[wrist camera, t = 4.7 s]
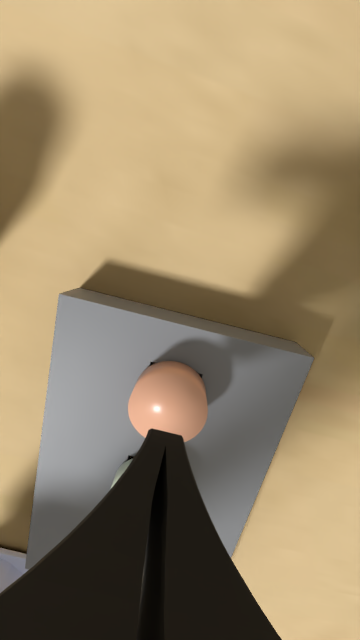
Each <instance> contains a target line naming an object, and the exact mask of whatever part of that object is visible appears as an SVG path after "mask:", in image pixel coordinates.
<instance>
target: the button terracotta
mask: <svg viewBox="0 0 360 640" xmlns="http://www.w3.org/2000/svg"><path fill="white" fill-rule="evenodd" d="M128 414H129V418H130V421H131V423H132V425H133V426H134V428H135V429H136V430H137V431H138V432H139V433H140V434H141V435H142V436H143V437H145V438H146V436H147V433H148V430H149V429H151V428H153V429H157V430H161V431H165V432H169V433H173V434H178V435H182V437H183V439H184V442H186V441H189V440H190V439H192V438H194V437H195V436H196V435H197V434H198V433H199V432H200V431H201V430H202V428H203V427H204V425H205V423H206V420H207V415H208V406H207V397H206V389H205V385H204V382H203V380H202V378H201V377H200V375H199V374H198V373H197V372H196V371H195V370H194V369H192V368H191V367H189V366H188V365H186V364H183V363H180V362H176V361H163V362H158V363H155V364H153V365H151V366H149V367H148V368H147V369H145V370H144V371H143V372H142V373H141V375H140V376H139V378H138V380H137V382H136V384H135V387H134V389H133V391H132V394H131V396H130V399H129V403H128Z"/></svg>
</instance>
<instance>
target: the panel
mask: <svg viewBox="0 0 360 640" xmlns="http://www.w3.org/2000/svg"><path fill="white" fill-rule="evenodd" d="M313 360H314V357H313V356H311V355H310V354H309V353H308V352H307V351H306V350H304V349H303V348H302V347H301V346H300V345H298V344H297V343H296V342H293V341H289V340H285V339H281V338H277V337H273V336H269V335H265V334H261V333H257V332H253V331H249V330H245V329H241V328H237V327H233V326H229V325H225V324H221V323H217V322H213V321H209V320H205V319H202V318H198V317H194V316H190V315H186V314H182V313H178V312H174V311H170V310H166V309H162V308H158V307H154V306H150V305H146V304H142V303H138V302H134V301H130V300H126V299H122V298H118V297H114V296H110V295H106V294H102V293H98V292H94V291H90V290H86V289H83V288H77V289H73V290H70V291H67V292H63V293H60V294H59V298H58V306H57V314H56V322H55V331H54V339H53V347H52V355H51V363H50V371H49V379H48V387H47V395H46V403H45V411H44V419H43V427H42V435H41V443H40V451H39V459H38V467H37V475H36V483H35V491H34V499H33V507H32V515H31V523H30V531H29V539H28V547H27V555H26V564H25V569H30V568H32V567H33V566H34V565H35V564H36V563H37V562H38V561H39V560H41V559H42V558H43V557H44V556H45V555H46V554H47V553H48V552H50V551H51V550H52V549H53V548H54V547H55V546H56V545H57V544H58V543H60V542H61V541H62V540H63V539H64V538H65V537H66V536H67V535H68V534H69V533H70V532H71V531H72V530H73V529H74V528H75V527H76V526H77V525H78V524H79V523H80V522H81V521H82V520H83V519H84V518H85V517H86V516H87V515H88V514H89V513H90V512H91V511H92V510H93V509H94V508H95V507H96V505H97V504H98V503H99V502H100V501H101V500H102V499H103V498H104V496H105V495H106V494H107V493H108V492H109V491H110V489H111V486H112V483H113V480H114V478H115V475H116V472H117V470H118V469H119V467H120V466H121V465H122V464H124V463H125V462H127V461H128V460H129V459H130V456H133V457H135V455H136V454H137V452H138V451H139V449H140V447H141V446H142V444H143V442H144V440H145V437H143V436H142V435H141V434H140V433H139V432H138V431H137V430H136V429H135V428H134V426H133V425H132V423H131V421H130V418H129V414H128V403H129V399H130V396H131V394H132V391H133V389H134V387H135V384H136V382H137V380H138V378H139V376H140V375H141V373H142V372H143V371H144V370H145V369H147V368H148V367H149V366H151V365H152V363H153V362H155V363H158V362H163V361H176V362H180V363H183V364H186V365H188V366H189V367H191V368H192V369H194V370H195V371H196V372H197V373H198V374H199V375H200V377H201V378H202V380H203V382H204V385H205V389H206V397H207V406H208V415H207V420H206V423H205V425H204V427H203V428H202V430H201V431H200V432H199V433H198V434H197V435H196V436H195V437H194V438H192V439H190V440H189V441H186V442H184V444H185V448H186V452H187V456H188V459H189V463H190V466H191V469H192V472H193V475H194V478H195V481H196V483H197V486H198V489H199V492H200V494H201V497H202V499H203V502H204V504H205V506H206V509H207V511H208V513H209V516H210V518H211V520H212V522H213V524H214V527H215V529H216V531H217V533H218V535H219V537H220V539H221V541H222V543H223V545H224V546H225V548H226V550H227V552H228V554H229V556H230V558H231V556H232V554H233V552H234V549H235V547H236V544H237V542H238V540H239V537H240V535H241V532H242V530H243V528H244V525H245V523H246V520H247V518H248V516H249V513H250V511H251V508H252V506H253V504H254V501H255V499H256V496H257V494H258V492H259V489H260V487H261V484H262V482H263V480H264V477H265V475H266V472H267V470H268V468H269V465H270V463H271V461H272V458H273V456H274V453H275V451H276V449H277V446H278V444H279V441H280V439H281V437H282V434H283V432H284V429H285V427H286V425H287V422H288V420H289V417H290V415H291V413H292V410H293V408H294V405H295V403H296V401H297V398H298V396H299V393H300V391H301V389H302V386H303V384H304V382H305V379H306V377H307V374H308V372H309V370H310V367H311V365H312V362H313Z"/></svg>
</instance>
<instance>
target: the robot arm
mask: <svg viewBox="0 0 360 640" xmlns="http://www.w3.org/2000/svg"><path fill="white" fill-rule="evenodd" d="M26 555H27V554H26V553H21V552H17V551H12V550H8V549H4V548H0V640H282V639H281V638H280V637H279V635H278V634H277V632H276V631H275V629H274V628H273V626H272V625H271V623H270V622H269V620H268V619H267V617H266V616H265V614H264V613H263V611H262V610H261V608H260V606H259V605H258V603H257V602H256V600H255V598H254V597H253V595H252V593H251V592H250V590H249V588H248V587H247V585H246V583H245V582H244V580H243V578H242V577H241V575H240V573H239V572H238V570H237V568H236V567H235V565H234V563H233V561H232V560H231V558H230V556H229V554H228V552H227V550H226V548H225V546H224V545H223V543H222V541H221V539H220V537H219V535H218V533H217V531H216V529H215V527H214V524H213V522H212V520H211V518H210V516H209V513H208V511H207V509H206V506H205V504H204V502H203V499H202V497H201V494H200V492H199V489H198V486H197V483H196V481H195V478H194V475H193V472H192V469H191V466H190V463H189V459H188V456H187V452H186V448H185V444H184V439H183V437H182V435H178V434H173V433H169V432H165V431H161V430H157V429H153V428H151V429H149V430H148V433H147V436H146V438H145V440H144V442H143V444H142V446H141V447H140V449H139V451H138V452H137V454H136V455H135V457H134V458H133V460H132V461H131V463H130V464H129V466H128V467H127V469H126V470H125V471H124V473H123V474H122V475H121V477H120V478H119V479H118V480H117V482H116V483H115V484H114V486H113V487H112V488H111V489H110V491H109V492H108V493H107V494H106V495H105V496H104V498H103V499H102V500H101V501H100V502H99V503H98V504H97V505H96V507H95V508H94V509H93V510H92V511H91V512H90V513H89V514H88V515H87V516H86V517H85V518H84V519H83V520H82V521H81V522H80V523H79V524H78V525H77V526H76V527H75V528H74V529H73V530H72V531H71V532H70V533H69V534H68V535H67V536H66V537H65V538H64V539H63V540H62V541H61V542H60V543H58V544H57V545H56V546H55V547H54V548H53V549H52V550H51V551H50V552H48V553H47V554H46V555H45V556H44V557H43V558H42V559H41V560H39V561H38V562H37V563H36V564H35V565H34V566H33V567H32V568H30V569H25V564H26ZM143 570H144V572H143ZM142 579H143V581H142ZM141 588H142V589H141Z"/></svg>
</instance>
